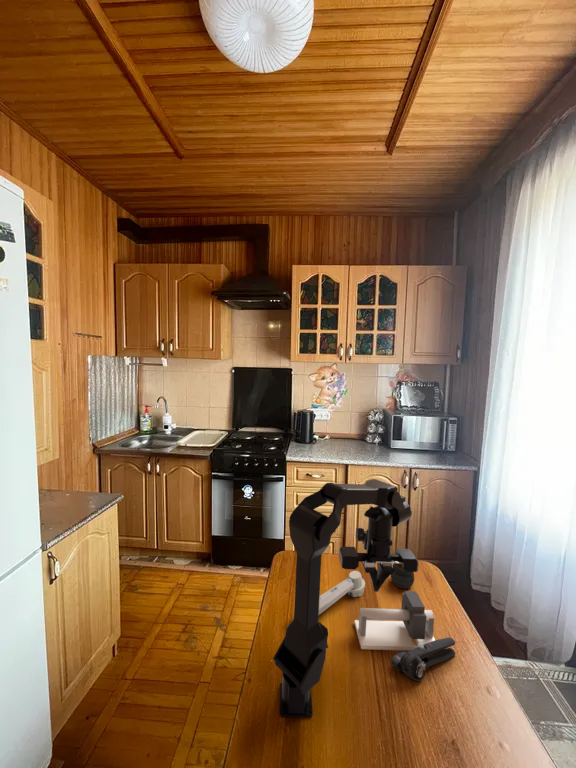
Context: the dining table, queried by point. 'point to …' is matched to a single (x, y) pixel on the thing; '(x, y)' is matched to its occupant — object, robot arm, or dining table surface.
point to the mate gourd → (402, 576)
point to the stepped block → (414, 614)
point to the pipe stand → (389, 629)
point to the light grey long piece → (342, 590)
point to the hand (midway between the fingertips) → (375, 590)
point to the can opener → (423, 657)
